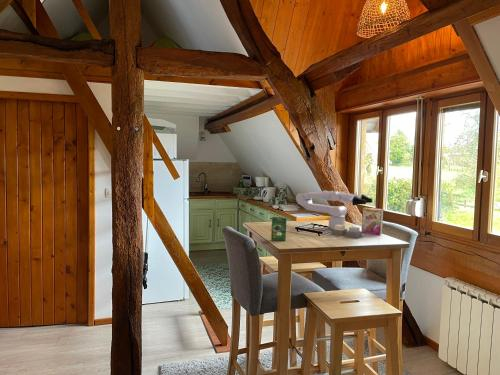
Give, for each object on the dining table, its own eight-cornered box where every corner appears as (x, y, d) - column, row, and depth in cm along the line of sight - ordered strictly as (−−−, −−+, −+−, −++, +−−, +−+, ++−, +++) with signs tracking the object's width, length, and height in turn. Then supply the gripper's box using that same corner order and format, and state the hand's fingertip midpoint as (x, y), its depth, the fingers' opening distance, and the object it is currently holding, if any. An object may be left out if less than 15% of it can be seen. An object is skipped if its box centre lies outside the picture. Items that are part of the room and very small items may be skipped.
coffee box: (285, 240, 219) (286, 216, 218) (286, 241, 216) (286, 217, 215) (271, 239, 219) (271, 216, 218) (271, 240, 216) (271, 217, 215)
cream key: (334, 230, 229) (334, 225, 228) (337, 229, 232) (338, 224, 232) (341, 231, 226) (341, 226, 226) (344, 230, 229) (344, 225, 229)
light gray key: (348, 232, 223) (349, 227, 223) (352, 231, 226) (352, 226, 226) (356, 233, 220) (356, 228, 220) (359, 232, 224) (359, 227, 223)
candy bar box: (360, 235, 234) (362, 208, 233) (363, 234, 239) (364, 207, 237) (380, 237, 229) (381, 210, 227) (382, 236, 233) (383, 209, 231)
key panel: (328, 237, 229) (329, 229, 228) (335, 234, 236) (336, 227, 235) (358, 241, 217) (358, 233, 217) (364, 239, 224) (364, 231, 224)
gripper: (342, 193, 235) (363, 196, 226) (354, 190, 245) (375, 193, 236) (341, 204, 236) (362, 208, 227) (354, 201, 247) (374, 205, 237)
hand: (368, 201), depth 232 cm, fingers open, 7 cm apart
